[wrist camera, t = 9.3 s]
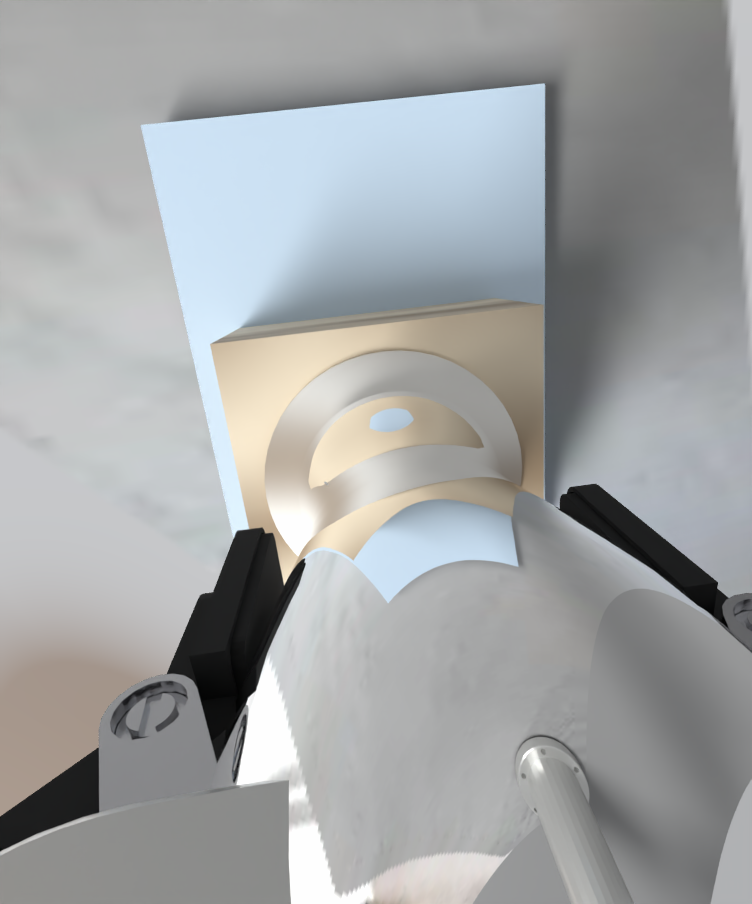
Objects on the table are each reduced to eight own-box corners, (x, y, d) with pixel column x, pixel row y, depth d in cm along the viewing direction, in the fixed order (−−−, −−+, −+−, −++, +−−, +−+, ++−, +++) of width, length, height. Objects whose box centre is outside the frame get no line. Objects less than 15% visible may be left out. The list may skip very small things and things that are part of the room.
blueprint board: (155, 136, 19) (140, 125, 18) (529, 97, 19) (545, 83, 18) (248, 562, 25) (242, 579, 23) (533, 524, 25) (545, 538, 24)
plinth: (239, 327, 20) (208, 345, 15) (494, 298, 20) (546, 305, 15) (283, 554, 23) (268, 629, 18) (501, 525, 24) (545, 591, 19)
